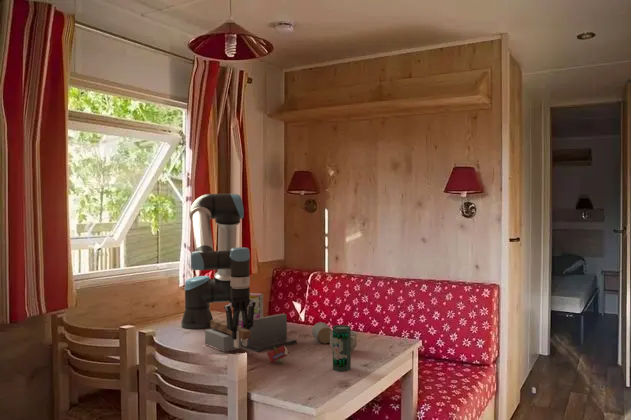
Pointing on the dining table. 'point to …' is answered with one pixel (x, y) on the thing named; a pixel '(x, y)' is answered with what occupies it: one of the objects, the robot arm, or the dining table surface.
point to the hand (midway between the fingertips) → (240, 346)
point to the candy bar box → (257, 309)
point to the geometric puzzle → (277, 353)
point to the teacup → (353, 339)
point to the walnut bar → (223, 327)
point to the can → (341, 348)
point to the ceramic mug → (321, 332)
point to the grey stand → (220, 340)
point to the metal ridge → (269, 333)
